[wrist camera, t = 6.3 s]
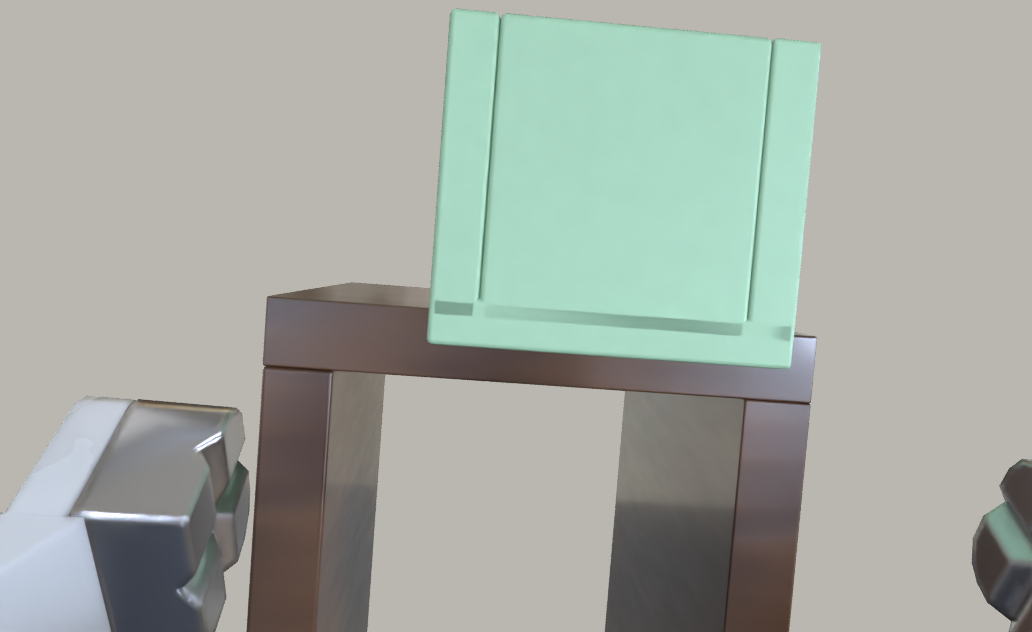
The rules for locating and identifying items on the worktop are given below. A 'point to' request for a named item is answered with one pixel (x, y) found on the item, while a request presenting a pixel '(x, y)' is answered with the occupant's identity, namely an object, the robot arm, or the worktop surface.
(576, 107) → the storage tray
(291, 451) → the shelf stand
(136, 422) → the robot arm
